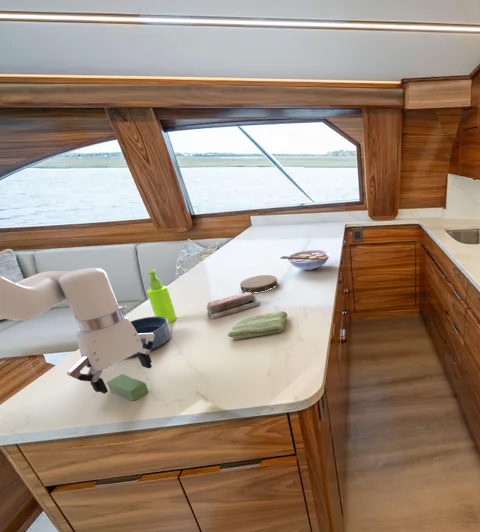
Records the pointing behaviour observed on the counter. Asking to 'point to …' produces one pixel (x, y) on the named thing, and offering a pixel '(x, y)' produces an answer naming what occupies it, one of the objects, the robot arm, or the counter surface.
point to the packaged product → (232, 304)
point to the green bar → (127, 387)
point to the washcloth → (258, 325)
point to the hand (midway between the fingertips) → (126, 378)
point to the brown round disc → (258, 283)
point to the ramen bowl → (308, 259)
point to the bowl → (153, 330)
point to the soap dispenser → (160, 298)
